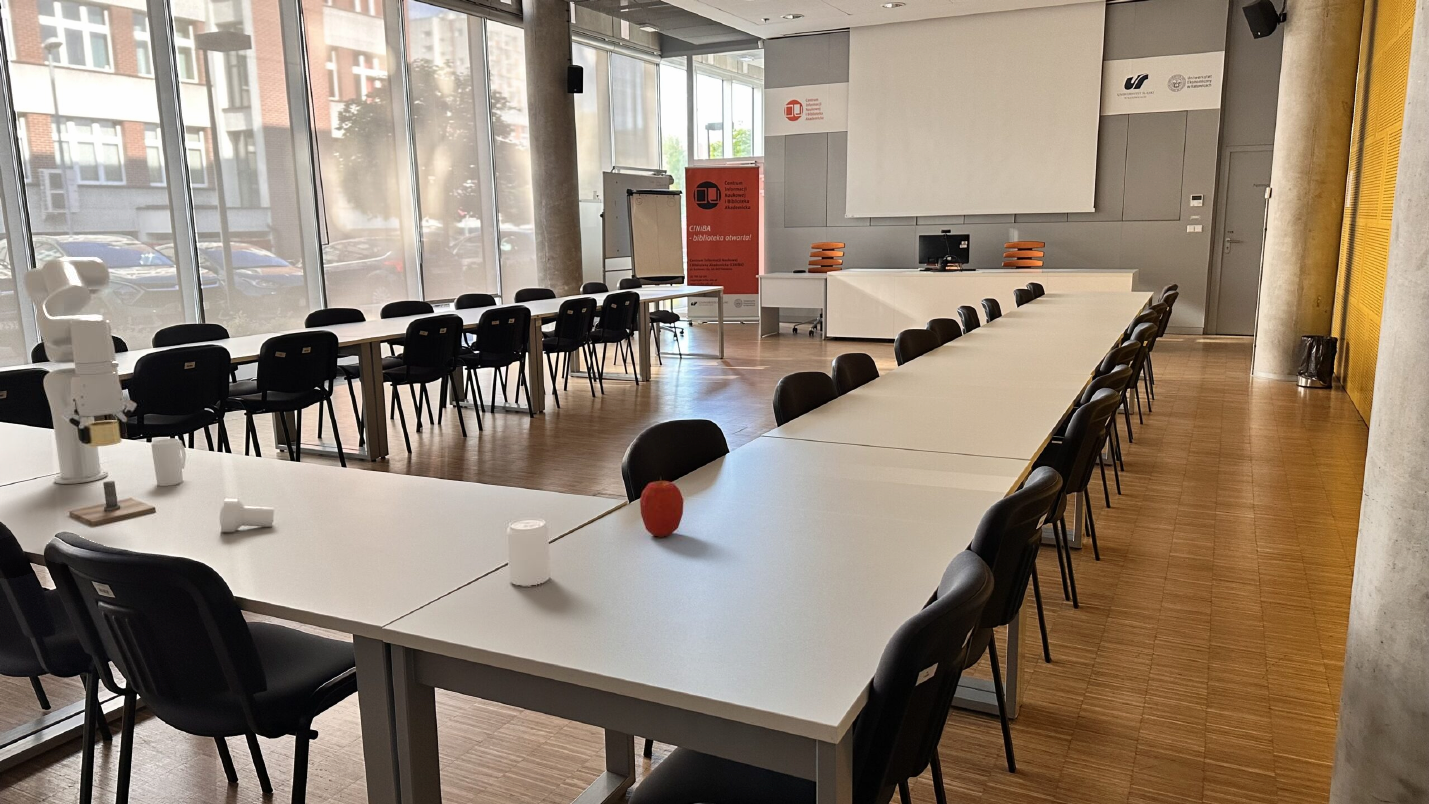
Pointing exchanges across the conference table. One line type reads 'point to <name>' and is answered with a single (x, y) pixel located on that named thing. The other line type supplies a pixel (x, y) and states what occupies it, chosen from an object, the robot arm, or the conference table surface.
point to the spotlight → (243, 515)
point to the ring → (104, 433)
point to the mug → (168, 461)
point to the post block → (111, 508)
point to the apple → (661, 508)
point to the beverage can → (528, 551)
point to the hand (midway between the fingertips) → (103, 439)
